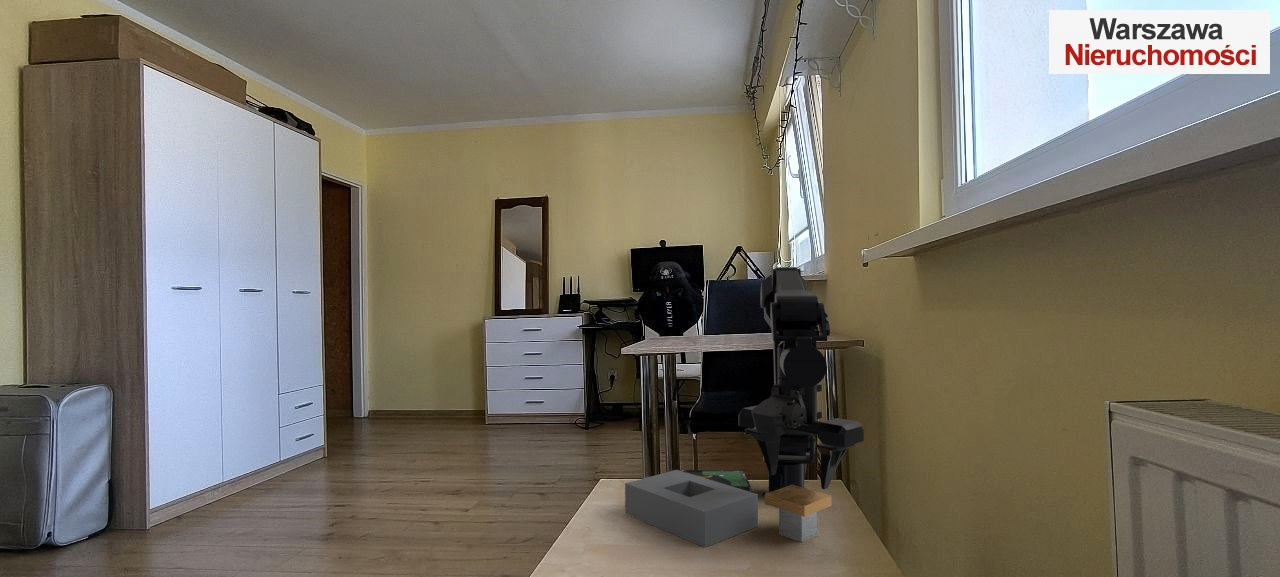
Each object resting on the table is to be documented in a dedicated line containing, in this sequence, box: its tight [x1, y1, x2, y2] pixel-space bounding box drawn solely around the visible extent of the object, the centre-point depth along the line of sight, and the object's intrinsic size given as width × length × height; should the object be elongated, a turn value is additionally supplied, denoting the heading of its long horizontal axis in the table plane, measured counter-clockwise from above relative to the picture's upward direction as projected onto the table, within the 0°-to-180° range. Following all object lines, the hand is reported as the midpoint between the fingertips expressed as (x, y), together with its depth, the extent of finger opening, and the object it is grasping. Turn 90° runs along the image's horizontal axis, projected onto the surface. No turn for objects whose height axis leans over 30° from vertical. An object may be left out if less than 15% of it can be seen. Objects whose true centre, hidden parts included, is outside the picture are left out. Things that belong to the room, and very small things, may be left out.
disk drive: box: [667, 469, 752, 492], centre depth 113 cm, size 10×3×15 cm
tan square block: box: [764, 485, 833, 543], centre depth 91 cm, size 7×7×6 cm
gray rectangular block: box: [624, 469, 759, 548], centre depth 97 cm, size 12×18×5 cm, turn 41°
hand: (797, 481), depth 91 cm, fingers open, 9 cm apart
